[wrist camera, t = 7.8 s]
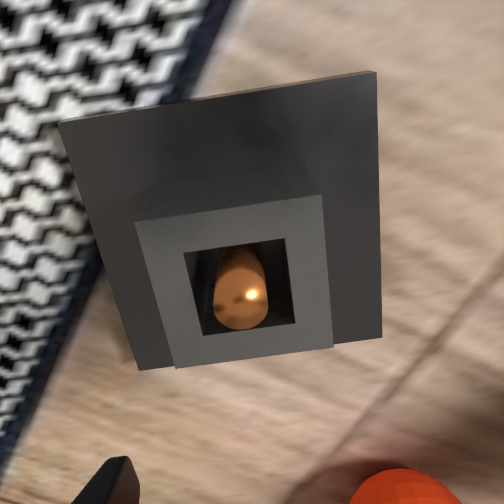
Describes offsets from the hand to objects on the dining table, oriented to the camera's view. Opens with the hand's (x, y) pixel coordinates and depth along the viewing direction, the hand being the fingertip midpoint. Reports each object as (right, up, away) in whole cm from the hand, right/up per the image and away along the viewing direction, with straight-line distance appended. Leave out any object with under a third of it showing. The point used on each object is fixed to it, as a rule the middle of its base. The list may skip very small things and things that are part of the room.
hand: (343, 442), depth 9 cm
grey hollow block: (-2, +4, +10) cm, 11 cm away
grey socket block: (-2, +5, +11) cm, 12 cm away
